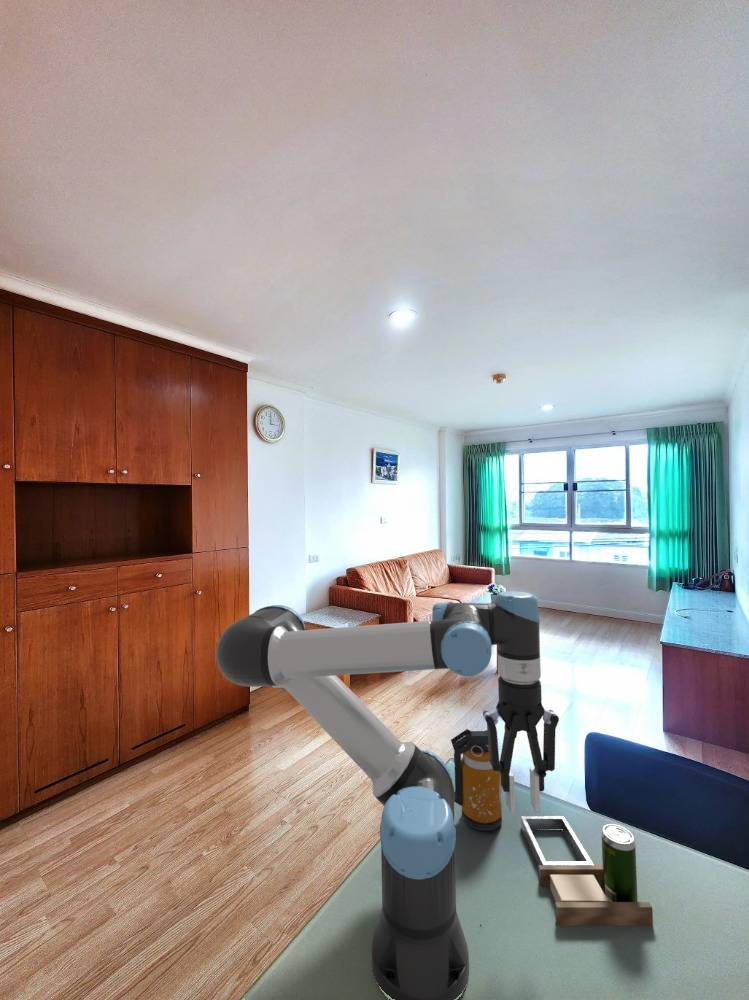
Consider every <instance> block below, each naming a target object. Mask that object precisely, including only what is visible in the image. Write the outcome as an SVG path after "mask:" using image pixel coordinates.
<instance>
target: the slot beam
mask: <svg viewBox="0 0 749 1000" xmlns="http://www.w3.org/2000/svg"><path fill="white" fill-rule="evenodd" d="M537 866H538V883H539V885H540V886H541V887H542V886H543V887H550V875H594V877H595V879H596V880H597V882H598V884H599V886H600V887H603V864H593V865H538V864H537ZM554 909H555V910H554V912H555V922H556V924H557V927H561V926H562V927H565V926H567V927H572V926H573V927H574V926H575V927H576V926H578V927H579V926H580V927H581V926H583V927H586V926H587V927H589V926H590V927H596V926H597V927H598V926H600V927H601V926H603V927H609V926H610V927H611V926H615V927H616V926H617V927H618V926H619V927H620V926H622V927H624V926H625V927H628V926H629V927H636V926H637V927H640V926H641V927H643V926H644V927H645V926H647V927H649V926H650V927H651V926H654V920H653V919H654V917H653V906H652V905H651V904H650V902H648V901H638V902H556V901H555V902H554Z"/></svg>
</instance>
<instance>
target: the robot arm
mask: <svg viewBox="0 0 749 1000" xmlns="http://www.w3.org/2000/svg"><path fill="white" fill-rule="evenodd" d="M431 611H432V614H431V617H432V619H431V620H424V621H423V620H422V621H410V622H408V621H407V622H397V623H395V622H394V623H384V624H371V625H356V626H344V627H343V626H342V627H330V628H319V629H318V628H317V629H307V630H306V625H305V622H304V620H303V618H302V616H301V615H300V614H299V613H298V612H297V611H296V610H295V609H293V608H291V607H289V606H287V605H282V604H273V605H267V606H264V607H262V608H259V609H257V610H255V612H253V613H250V614H249V615H247V616H245V617H242V618H241V619H238V620H236V621H234V622H233V623H232V624H231V625H229V626H228V627H227V628H226V629H225V630H224V631H223V632H222V634H221V635H220V638H219V639H218V642H217V644H216V650H215V658H216V664H217V667H218V670H219V671H220V673H221V674H222V676H223V677H224V678H225V679H226V680H228V681H230V683H232V684H234V685H238V686H241V687H248V688H249V687H252V688H253V687H257V688H259V687H272V689H274V688H276V689H277V688H278V689H280V688H283V689H285V690H286V692H288V693H289V694H290V695H291V697H293V698H294V700H295V701H296V702H297V703H298V704H299V705H300V706H301V708H303V709H304V710H305V711H306V712H307V713H308V714H309V715H310V716H311V717H312V718H313V720H315V722H316V723H317V725H319V726H320V727H321V728H322V729H323V730H324V731H325V732H326V734H327V735H328V736H330V738H331V739H332V740H334V742H335V743H336V744H337V745H338V746H339V747H340V748H341V750H342V751H343V752H344V753H345V754H347V756H349V758H350V759H351V760H352V761H353V762H354V763H355V764H356V765H357V767H359V768H360V770H361V771H363V773H365V774H366V776H367V777H368V778H369V779H370V780H371V784H372V785H371V787H372V795H373V796H374V797H375V798H376V800H377V801H378V802H379V803H380V804H381V805H382V806H383V809H382V811H381V817H380V818H381V819H380V823H379V824H380V825H379V838H380V839H379V840H380V847H381V848H380V850H381V852H380V855H381V856H380V857H381V860H380V861H381V905H382V906H381V909H380V912H379V917H378V919H377V923H376V926H375V929H374V933H373V936H372V941H371V942H372V943H371V966H372V967H371V969H372V968H373V969H372V974H373V973H374V974H373V977H374V976H375V978H374V980H375V979H376V980H375V983H376V982H377V983H378V985H379V986H380V987H381V989H382V990H383V991H384V992H385V993H386V994H387V995H389V996H390V997H391V998H392V999H395V1000H454V999H456V998H457V997H458V996H459V995H460V994H461V993H462V991H463V990H464V988H465V986H466V984H467V985H468V983H467V982H469V977H470V959H469V957H470V956H469V948H468V947H469V946H468V944H467V943H468V942H467V939H466V937H465V933H464V930H463V927H462V924H461V922H460V918H459V915H458V913H457V904H456V903H457V887H456V886H457V885H456V884H457V883H456V882H457V881H456V880H457V879H456V849H455V848H456V840H457V838H456V837H457V832H456V824H455V802H454V800H455V795H454V792H455V784H454V782H453V777H452V774H451V772H450V769H449V768H448V766H447V764H446V763H445V761H444V760H443V759H442V758H441V757H440V756H439V755H438V754H435V753H434V752H432V751H430V750H427V749H426V750H422V749H420V748H419V747H418V746H417V745H416V744H415V743H414V742H413V741H403V742H402V741H401V739H399V738H398V737H397V736H396V735H395V734H394V733H393V731H391V730H390V729H389V728H388V726H386V725H385V724H384V723H383V722H382V721H381V720H380V719H379V718H378V716H376V714H375V713H373V711H372V710H370V709H369V707H368V706H367V705H366V704H365V703H364V702H363V701H362V700H361V699H360V698H359V697H358V696H357V695H356V694H355V693H354V692H353V691H352V690H351V689H350V688H349V686H347V685H346V684H345V683H344V682H343V680H341V678H339V676H346V675H347V676H349V675H350V676H351V675H362V674H363V675H364V674H379V673H381V674H382V673H395V672H396V673H397V672H411V671H428V670H429V671H430V670H448V669H449V670H450V671H451V672H453V673H454V674H457V675H459V676H462V677H473V676H477V675H479V674H481V673H483V671H484V670H486V669H487V668H488V666H489V664H490V661H491V658H492V649H493V648H492V646H495V645H496V646H497V675H498V676H499V677H497V679H498V680H497V681H498V683H497V686H498V689H497V690H498V702H497V705H496V707H495V709H492V710H490V711H488V710H483V712H482V715H483V718H484V720H485V723H486V728H487V729H486V730H487V732H488V745H489V758H490V763H491V765H492V768H493V770H494V771H496V772H497V771H499V772H500V777H501V789H502V790H503V792H505V793H506V795H505V797H506V798H505V799H506V805H507V807H508V810H509V813H510V814H516V804H515V803H516V802H515V797H516V796H515V795H516V794H515V793H516V792H515V775H514V774H513V771H512V769H511V766H512V760H513V754H514V749H515V742H516V738H517V735H518V733H519V732H526V735H527V740H528V746H529V749H530V755H531V759H532V764H533V767H532V766H530V767H529V791H530V792H529V793H530V799H529V800H530V805H531V806H532V808H533V811H534V813H535V814H541V802H540V800H541V799H540V792H544V791H545V777H547V772H548V771H550V772H553V771H554V770H555V768H556V729H557V727H558V724H559V721H560V718H559V716H558V714H556V713H555V712H554V710H552V709H549V710H548V709H545V708H544V706H543V704H542V701H543V699H542V682H541V680H540V679H541V676H542V673H541V669H542V668H541V650H540V649H541V647H540V646H541V644H540V642H541V641H540V622H541V619H540V614H539V604H538V599H537V597H536V596H535V595H534V594H532V593H530V592H526V591H525V592H524V591H518V590H517V591H514V590H512V591H510V590H509V591H501V592H498V593H496V596H495V600H494V602H490V603H477V602H476V603H474V602H452V601H449V602H436V603H435V604H433V606H432V610H431ZM498 718H501V720H502V721H503V722H504V733H503V740H502V746H501V753H500V754H499V743H498V731H497V730H498V729H497V726H496V725H497V724H498V722H499V719H498ZM541 719H542V720H543V740H542V741H543V742H542V745H543V747H542V749H543V753H542V752H541V747H540V742H539V738H538V737H539V735H538V731H537V730H538V729H537V725H538V723H539V722H540V721H541ZM499 755H500V756H499ZM468 976H469V977H468ZM377 983H376V984H377ZM378 985H377V986H378ZM466 987H467V986H466ZM465 989H466V988H465Z"/></svg>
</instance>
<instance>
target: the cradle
mask: <svg viewBox="0 0 749 1000" xmlns="http://www.w3.org/2000/svg"><path fill="white" fill-rule="evenodd" d="M520 828H521V830H522V833H523V836H524V837H525V839H526V843H527V844H528V846H529V848H530V850H531V853H532V855H533V858H534V859H535V862H536V864H537V866H538V865H594V863H593V861H592V860H591V858H590V856H589V855H588V853H587V851H586V850H585V848H584V847H583V845H582V843H581V842H580V840H579V839H578V837H577V835H576V833H575V832H574V830H573V829H572V826H571V825H570V823H569V822H568V821H567V819H566V818H565V816H564V815H562V816H561V815H554V816H553V815H552V816H551V815H550V816H549V815H545V816H540V815H539V816H537V815H536V816H535V815H533V816H532V815H531V816H527V815H526V816H525V815H524V816H523V815H522V816H520ZM538 829H539V830H538ZM540 829H563V831H564V832H563V831H562V832H563V834H564V833H565V834H564V835H566V836H565V838H566V837H567V838H566V839H567V841H568V843H569V844H571V845H570V846H571V848H572V850H573V849H574V850H573V852H574V851H575V852H574V853H575V855H576V856H577V858H578V860H579V861H546V859H545V857H544V856H545V855H543V853H542V850H541V849H540V846H539V843H538V842H537V840H536V838H535V835H534V834H533V831H541V830H540Z"/></svg>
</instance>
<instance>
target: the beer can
mask: <svg viewBox="0 0 749 1000" xmlns="http://www.w3.org/2000/svg"><path fill="white" fill-rule="evenodd" d="M636 849H637V847H636V842H635V840H634V835H633V833H632V832H631V831H629V830H628V829H627V828H626V827H624V826H623V825H622V826H621V825H619V824H614V823H609V824H605V825H604V826H603V828H602V832H601V853H602V855H601V856H602V858H601V859H602V860H601V861H602V865H603V886H602V888H603V889H602V890H603V892H604V894H605V896H606V898H607V899H608V902H639V901H638V880H637V878H638V877H637V876H638V875H637V855H636V854H637V853H636Z"/></svg>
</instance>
